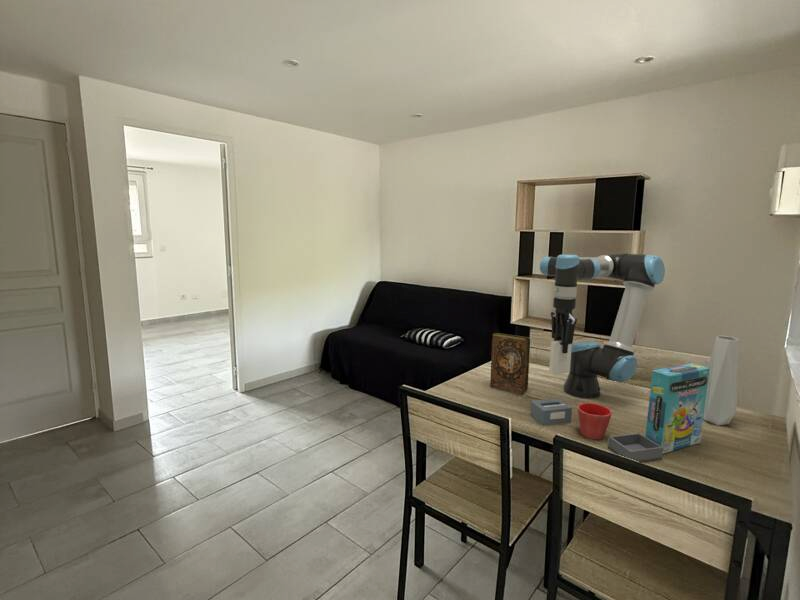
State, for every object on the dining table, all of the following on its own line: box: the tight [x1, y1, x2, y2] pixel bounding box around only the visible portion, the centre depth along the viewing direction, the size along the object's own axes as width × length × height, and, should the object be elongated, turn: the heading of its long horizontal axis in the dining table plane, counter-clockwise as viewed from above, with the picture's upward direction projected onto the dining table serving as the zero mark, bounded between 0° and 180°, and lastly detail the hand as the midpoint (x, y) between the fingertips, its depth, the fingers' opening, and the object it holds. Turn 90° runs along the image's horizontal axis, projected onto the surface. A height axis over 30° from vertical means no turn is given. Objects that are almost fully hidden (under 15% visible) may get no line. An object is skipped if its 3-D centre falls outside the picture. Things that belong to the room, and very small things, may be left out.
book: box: [489, 332, 531, 395], centre depth 191 cm, size 16×6×25 cm, turn 58°
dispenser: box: [529, 398, 573, 426], centre depth 163 cm, size 12×9×6 cm
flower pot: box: [577, 402, 613, 440], centre depth 151 cm, size 11×11×10 cm
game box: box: [644, 362, 710, 455], centre depth 142 cm, size 20×6×27 cm, turn 114°
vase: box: [703, 335, 740, 426], centre depth 160 cm, size 12×12×33 cm
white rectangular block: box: [548, 340, 573, 375], centre depth 157 cm, size 7×2×12 cm, turn 101°
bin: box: [607, 432, 664, 463], centre depth 139 cm, size 12×10×4 cm
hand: (560, 359), depth 157 cm, fingers closed on white rectangular block, 2 cm apart
